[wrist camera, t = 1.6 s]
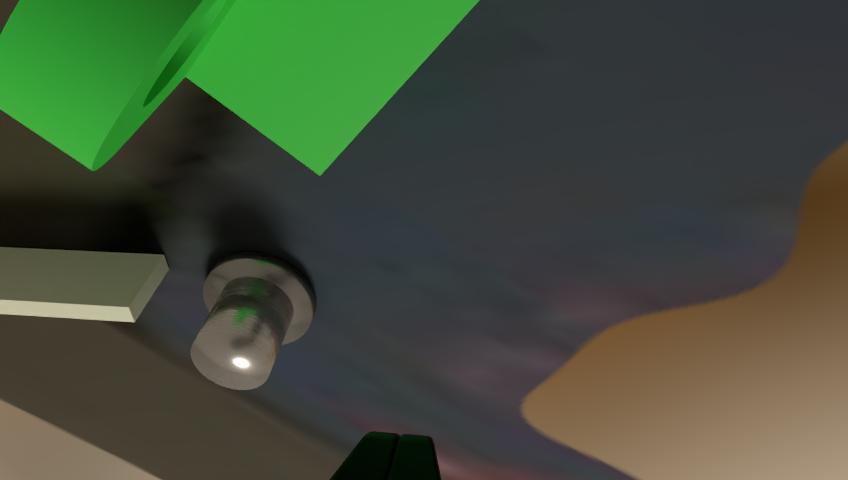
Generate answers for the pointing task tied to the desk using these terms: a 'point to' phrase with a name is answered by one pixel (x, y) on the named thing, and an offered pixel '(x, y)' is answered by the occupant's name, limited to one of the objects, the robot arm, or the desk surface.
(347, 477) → the robot arm
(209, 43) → the mechanical part
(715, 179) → the desk surface
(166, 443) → the desk surface
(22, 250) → the white u-shaped handle
